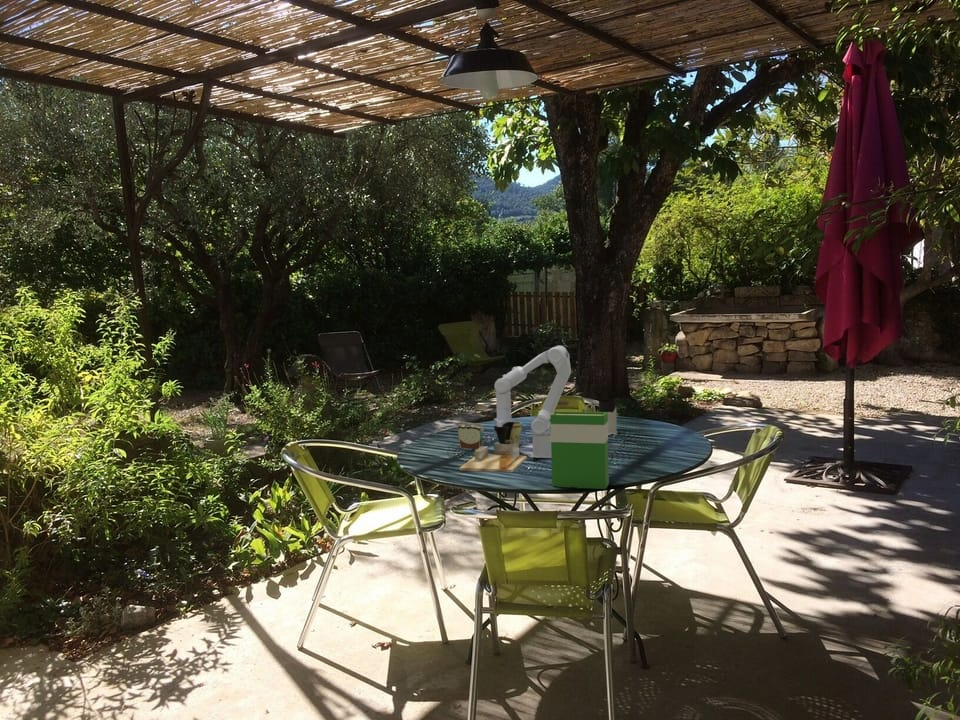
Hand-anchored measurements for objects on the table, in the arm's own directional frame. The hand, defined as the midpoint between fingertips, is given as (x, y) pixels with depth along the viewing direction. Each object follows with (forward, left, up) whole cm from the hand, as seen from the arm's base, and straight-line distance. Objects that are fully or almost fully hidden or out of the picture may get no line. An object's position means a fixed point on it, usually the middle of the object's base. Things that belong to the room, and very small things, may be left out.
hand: (504, 441), depth 301 cm
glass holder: (-32, -48, -6) cm, 58 cm away
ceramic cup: (+2, -18, -6) cm, 19 cm away
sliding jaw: (-6, +17, -4) cm, 19 cm away
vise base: (0, +17, -5) cm, 17 cm away
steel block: (0, 0, -6) cm, 6 cm away
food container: (+17, -12, -6) cm, 21 cm away
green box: (-37, +42, -6) cm, 56 cm away
